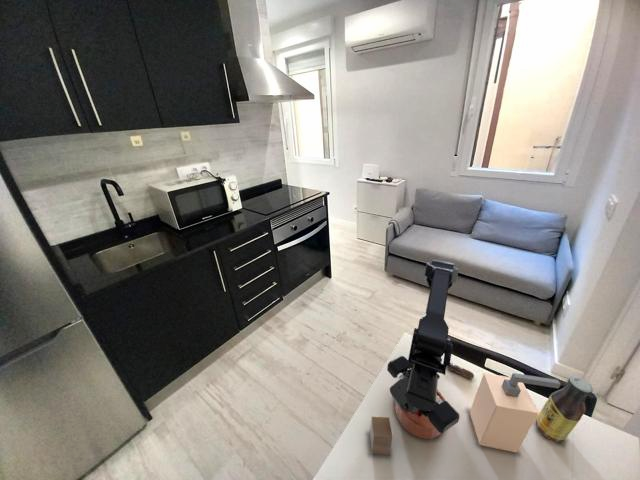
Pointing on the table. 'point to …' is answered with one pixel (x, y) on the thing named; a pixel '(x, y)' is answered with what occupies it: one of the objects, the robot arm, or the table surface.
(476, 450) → the table surface
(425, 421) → the bowl
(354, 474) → the table surface
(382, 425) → the wooden stand
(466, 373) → the brown bumpy bar
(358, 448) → the table surface
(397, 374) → the robot arm
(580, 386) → the sauce bottle
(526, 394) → the soap dispenser
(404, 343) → the table surface
